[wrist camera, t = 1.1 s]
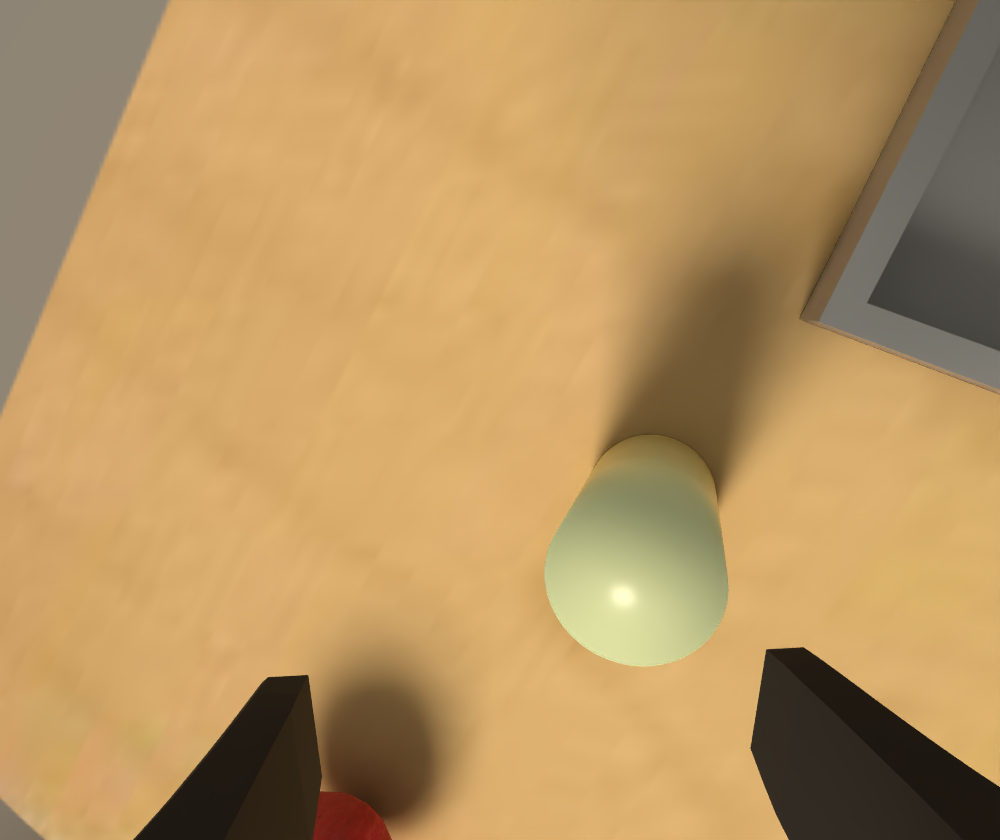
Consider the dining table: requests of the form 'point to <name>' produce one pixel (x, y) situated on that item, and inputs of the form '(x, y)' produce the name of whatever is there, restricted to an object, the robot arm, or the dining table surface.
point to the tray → (931, 218)
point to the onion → (347, 819)
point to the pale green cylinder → (641, 555)
